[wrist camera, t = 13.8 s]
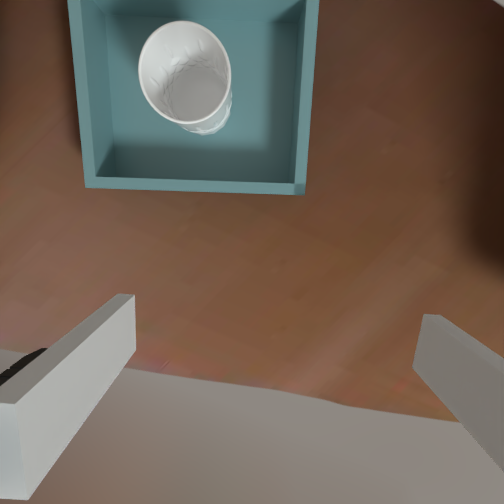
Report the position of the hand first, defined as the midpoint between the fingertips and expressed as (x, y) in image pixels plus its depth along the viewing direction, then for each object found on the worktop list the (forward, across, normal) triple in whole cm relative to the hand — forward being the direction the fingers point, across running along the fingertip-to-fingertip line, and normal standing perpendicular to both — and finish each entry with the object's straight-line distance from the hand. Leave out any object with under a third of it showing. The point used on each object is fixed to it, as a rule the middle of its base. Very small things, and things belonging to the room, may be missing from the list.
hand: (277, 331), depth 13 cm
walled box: (+26, +8, -15) cm, 31 cm away
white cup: (+25, +8, -15) cm, 31 cm away
